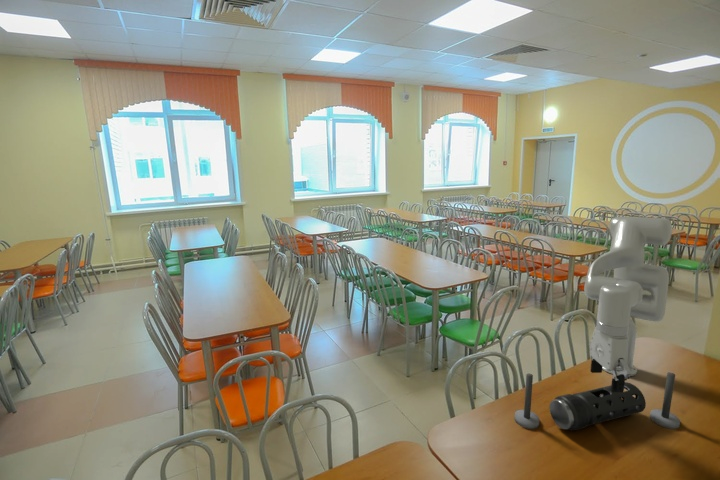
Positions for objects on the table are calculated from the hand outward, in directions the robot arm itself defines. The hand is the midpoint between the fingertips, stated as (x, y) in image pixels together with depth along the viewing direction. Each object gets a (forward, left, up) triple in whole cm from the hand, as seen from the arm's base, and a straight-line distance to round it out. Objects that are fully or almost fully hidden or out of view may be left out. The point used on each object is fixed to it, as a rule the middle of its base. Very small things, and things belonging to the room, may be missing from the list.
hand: (606, 381), depth 106 cm
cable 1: (-3, -21, -16) cm, 26 cm away
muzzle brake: (-3, 0, -16) cm, 16 cm away
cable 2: (-3, +21, -16) cm, 26 cm away
